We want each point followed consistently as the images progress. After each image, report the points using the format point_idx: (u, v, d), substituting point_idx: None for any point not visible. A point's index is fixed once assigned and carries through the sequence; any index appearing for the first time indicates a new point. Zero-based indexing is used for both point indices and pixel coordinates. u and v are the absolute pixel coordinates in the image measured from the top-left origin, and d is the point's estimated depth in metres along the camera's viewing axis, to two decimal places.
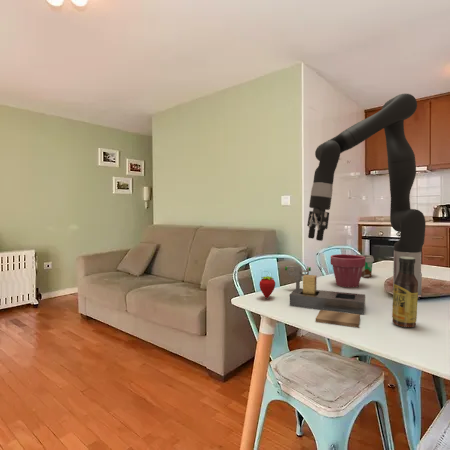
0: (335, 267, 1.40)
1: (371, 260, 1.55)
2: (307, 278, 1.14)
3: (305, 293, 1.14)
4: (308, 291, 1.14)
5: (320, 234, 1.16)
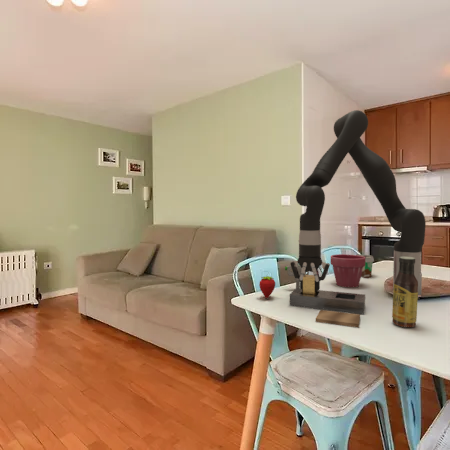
0: (335, 267, 1.40)
1: (371, 260, 1.55)
2: (307, 278, 1.14)
3: (305, 293, 1.14)
4: (308, 291, 1.14)
5: (319, 285, 1.14)
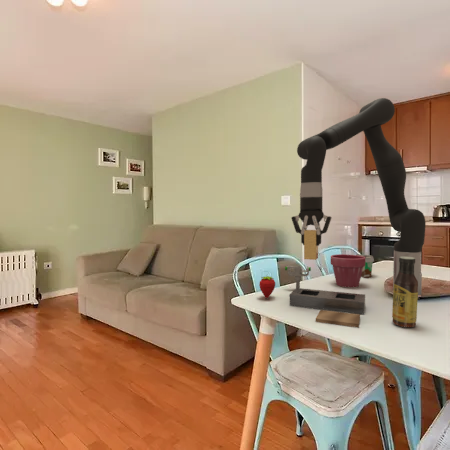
0: (335, 267, 1.40)
1: (371, 260, 1.55)
2: (308, 231, 1.12)
3: (306, 247, 1.13)
4: (309, 245, 1.12)
5: (320, 239, 1.12)
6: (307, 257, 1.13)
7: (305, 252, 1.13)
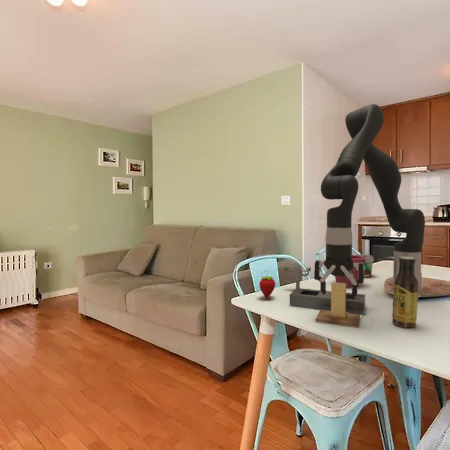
0: None
1: (371, 260, 1.55)
2: (336, 287, 0.97)
3: (334, 304, 0.98)
4: (338, 302, 0.97)
5: None
6: (334, 316, 0.98)
7: (332, 310, 0.98)
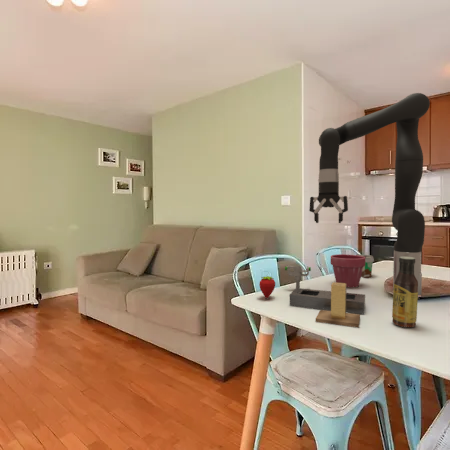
0: (335, 267, 1.40)
1: (371, 260, 1.55)
2: (336, 287, 0.97)
3: (334, 304, 0.98)
4: (338, 302, 0.97)
5: (342, 217, 1.25)
6: (334, 316, 0.98)
7: (332, 310, 0.98)
